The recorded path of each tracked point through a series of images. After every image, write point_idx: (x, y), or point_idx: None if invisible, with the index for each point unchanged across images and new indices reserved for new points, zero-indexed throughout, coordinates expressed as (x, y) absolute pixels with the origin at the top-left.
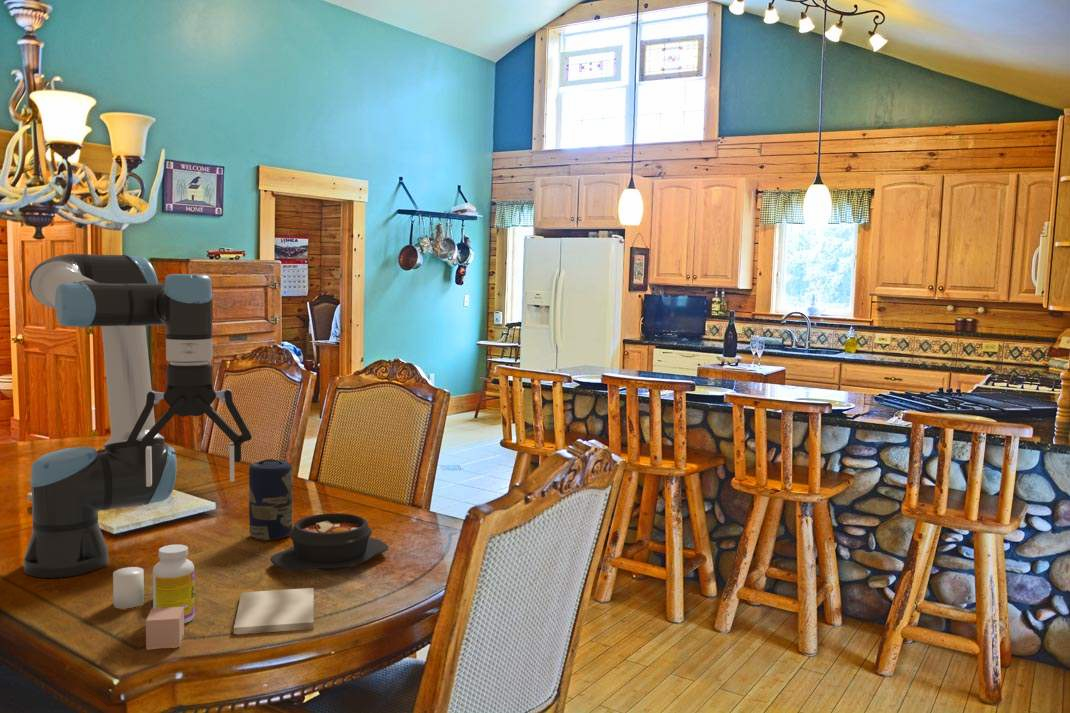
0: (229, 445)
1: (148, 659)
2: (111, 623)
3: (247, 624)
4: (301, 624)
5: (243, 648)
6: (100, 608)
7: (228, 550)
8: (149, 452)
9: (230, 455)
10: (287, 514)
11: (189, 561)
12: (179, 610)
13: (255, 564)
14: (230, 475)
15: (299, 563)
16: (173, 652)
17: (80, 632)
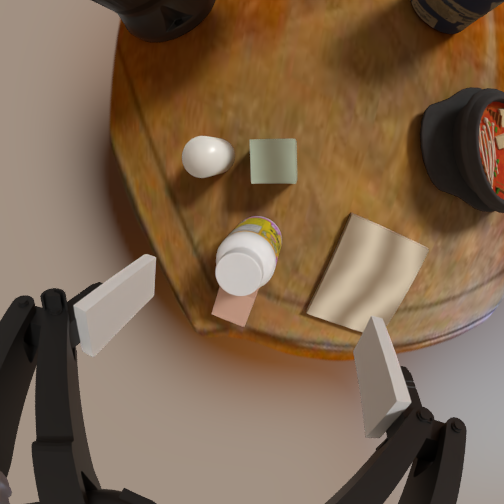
0: (392, 396)
1: None
2: (193, 211)
3: (322, 312)
4: None
5: (303, 339)
6: None
7: (376, 22)
8: (97, 350)
9: (364, 410)
10: (469, 24)
11: (267, 271)
12: (248, 307)
13: (402, 94)
14: (357, 362)
15: (447, 168)
16: None
17: (165, 220)
